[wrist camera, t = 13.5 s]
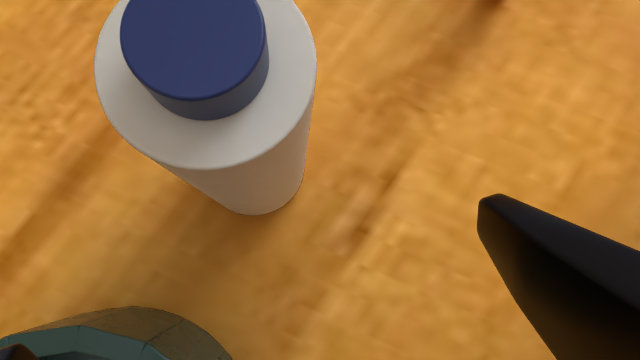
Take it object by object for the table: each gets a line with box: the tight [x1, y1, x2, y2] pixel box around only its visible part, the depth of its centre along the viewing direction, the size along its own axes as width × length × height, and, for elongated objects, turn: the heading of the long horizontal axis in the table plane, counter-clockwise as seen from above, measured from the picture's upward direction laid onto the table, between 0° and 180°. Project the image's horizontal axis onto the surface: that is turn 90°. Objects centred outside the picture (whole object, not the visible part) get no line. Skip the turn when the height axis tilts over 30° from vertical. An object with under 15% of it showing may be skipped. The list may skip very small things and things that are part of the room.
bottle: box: [94, 0, 317, 215], centre depth 14 cm, size 5×5×12 cm
